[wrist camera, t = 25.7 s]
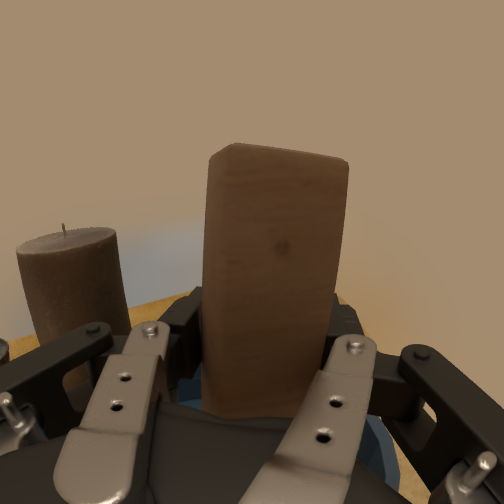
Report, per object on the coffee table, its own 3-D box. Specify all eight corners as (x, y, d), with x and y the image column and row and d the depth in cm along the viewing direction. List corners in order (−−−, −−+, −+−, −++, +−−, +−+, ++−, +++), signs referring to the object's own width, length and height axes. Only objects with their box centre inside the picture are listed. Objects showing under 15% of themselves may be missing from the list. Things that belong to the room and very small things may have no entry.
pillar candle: (152, 387, 24) (124, 222, 20) (55, 409, 19) (0, 242, 15) (128, 339, 32) (109, 210, 28) (53, 354, 27) (22, 223, 23)
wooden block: (215, 516, 9) (228, 140, 6) (203, 468, 12) (208, 154, 9) (340, 487, 11) (431, 179, 8) (315, 449, 14) (371, 176, 11)
